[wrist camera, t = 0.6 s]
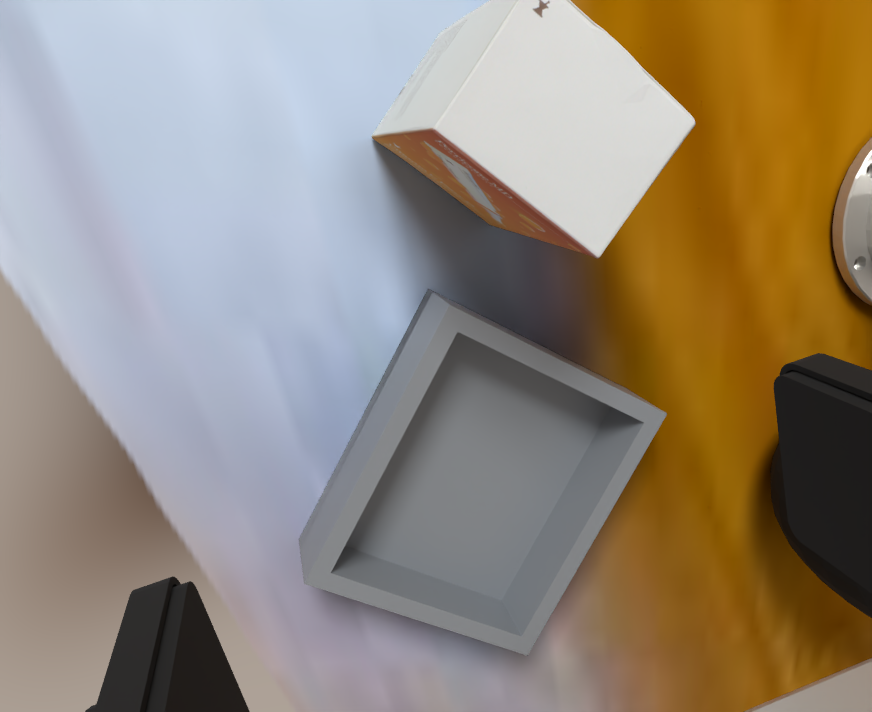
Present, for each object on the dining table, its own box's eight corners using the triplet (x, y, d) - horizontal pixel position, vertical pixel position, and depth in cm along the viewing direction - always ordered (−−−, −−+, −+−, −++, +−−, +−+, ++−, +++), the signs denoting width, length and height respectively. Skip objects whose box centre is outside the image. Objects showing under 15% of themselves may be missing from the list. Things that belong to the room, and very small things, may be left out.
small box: (367, 138, 36) (427, 128, 24) (439, 29, 35) (537, -39, 23) (491, 230, 39) (601, 263, 26) (559, 130, 38) (703, 117, 26)
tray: (626, 388, 43) (667, 413, 39) (501, 609, 45) (527, 655, 41) (428, 288, 39) (449, 304, 34) (298, 539, 41) (304, 583, 36)
